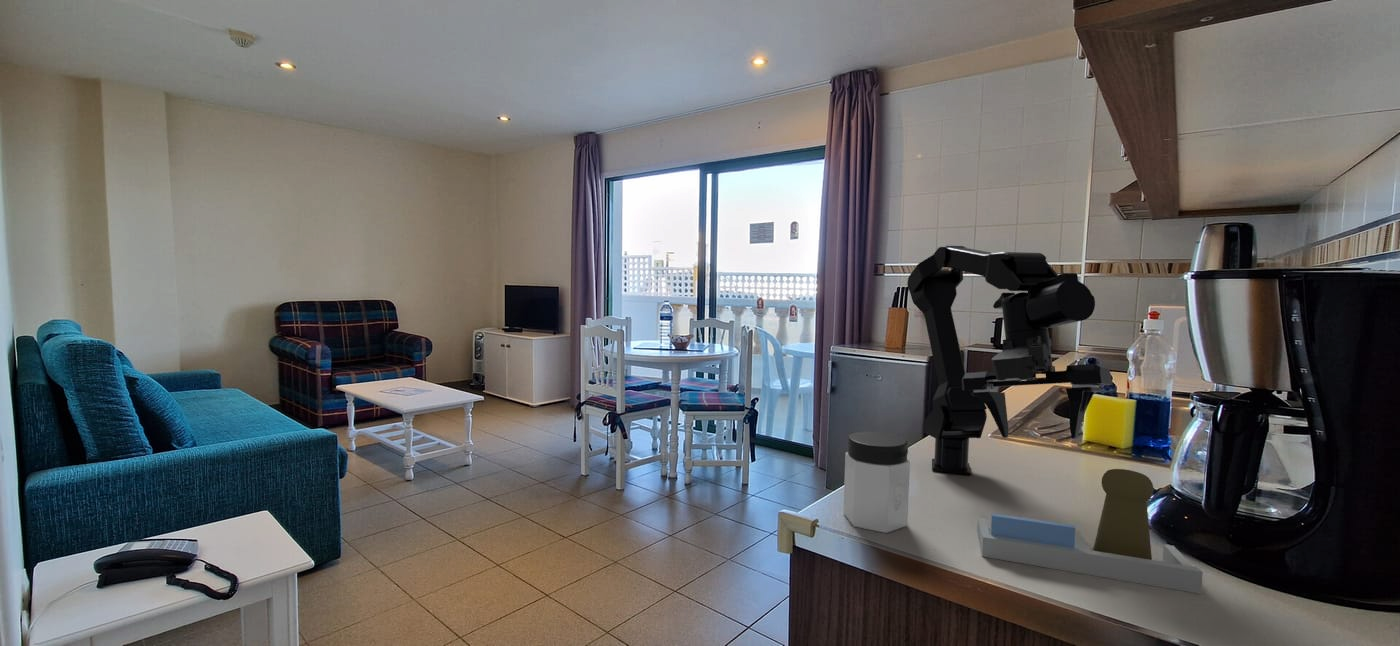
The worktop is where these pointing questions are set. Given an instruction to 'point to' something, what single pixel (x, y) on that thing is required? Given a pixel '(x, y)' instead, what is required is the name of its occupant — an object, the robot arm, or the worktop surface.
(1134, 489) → the cork
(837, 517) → the worktop surface
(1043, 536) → the shallow tray
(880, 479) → the jar
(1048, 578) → the worktop surface
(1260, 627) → the worktop surface
